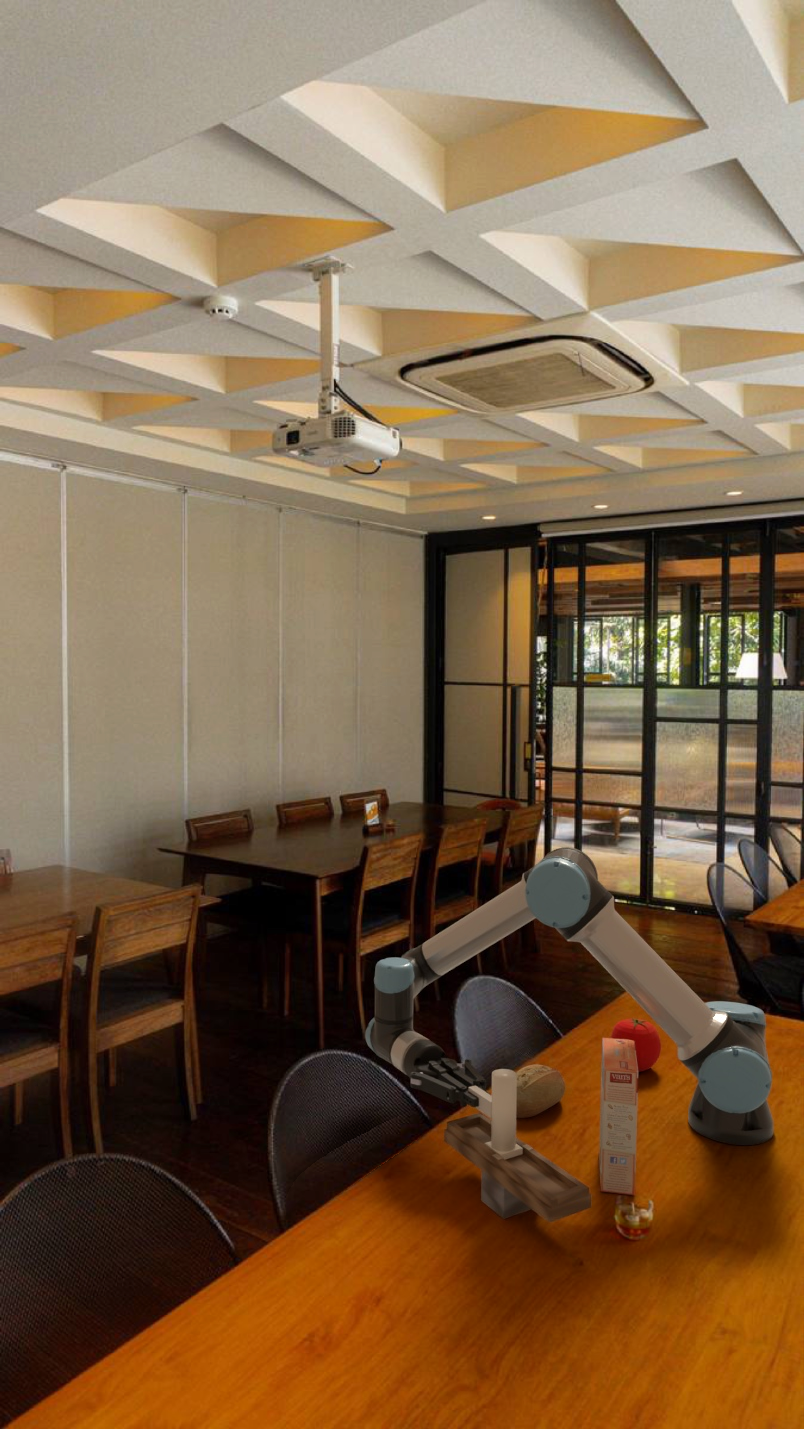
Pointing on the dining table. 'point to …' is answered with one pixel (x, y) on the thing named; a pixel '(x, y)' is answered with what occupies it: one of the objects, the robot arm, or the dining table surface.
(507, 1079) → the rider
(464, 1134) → the beam
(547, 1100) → the bread roll
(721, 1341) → the dining table surface
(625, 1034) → the tomato
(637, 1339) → the dining table surface
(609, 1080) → the cracker box
